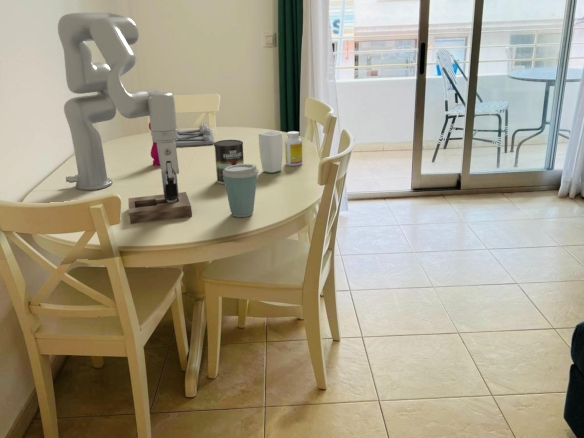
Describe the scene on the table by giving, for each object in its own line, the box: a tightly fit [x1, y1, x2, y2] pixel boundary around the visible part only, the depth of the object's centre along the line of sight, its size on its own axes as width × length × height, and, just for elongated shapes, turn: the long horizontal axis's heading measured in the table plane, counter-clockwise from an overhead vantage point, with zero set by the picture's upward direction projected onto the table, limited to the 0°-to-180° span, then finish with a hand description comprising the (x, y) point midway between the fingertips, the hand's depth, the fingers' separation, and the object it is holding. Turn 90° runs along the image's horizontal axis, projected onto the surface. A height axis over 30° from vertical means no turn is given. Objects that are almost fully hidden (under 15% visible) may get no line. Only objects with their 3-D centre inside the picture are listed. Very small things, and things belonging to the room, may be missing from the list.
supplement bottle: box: [284, 130, 303, 167], centre depth 214 cm, size 7×7×13 cm
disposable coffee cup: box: [222, 163, 260, 218], centre depth 161 cm, size 11×11×15 cm
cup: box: [258, 130, 284, 174], centre depth 204 cm, size 7×7×15 cm
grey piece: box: [175, 123, 216, 148], centre depth 262 cm, size 30×22×7 cm
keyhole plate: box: [128, 191, 193, 225], centre depth 166 cm, size 18×14×4 cm
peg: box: [161, 170, 180, 203], centre depth 166 cm, size 5×5×13 cm
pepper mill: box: [148, 122, 161, 167], centre depth 217 cm, size 7×7×20 cm
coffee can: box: [213, 139, 245, 185], centre depth 195 cm, size 10×10×14 cm
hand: (171, 192), depth 166 cm, fingers open, 5 cm apart
